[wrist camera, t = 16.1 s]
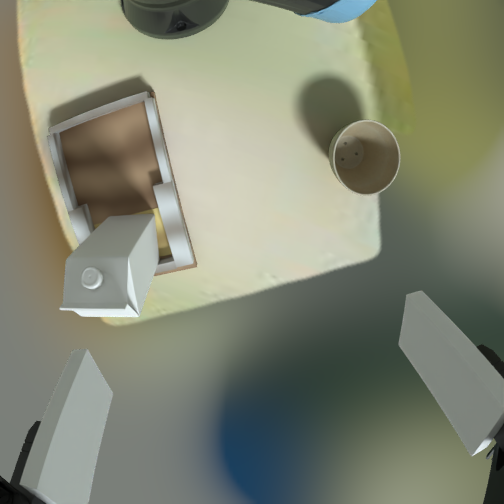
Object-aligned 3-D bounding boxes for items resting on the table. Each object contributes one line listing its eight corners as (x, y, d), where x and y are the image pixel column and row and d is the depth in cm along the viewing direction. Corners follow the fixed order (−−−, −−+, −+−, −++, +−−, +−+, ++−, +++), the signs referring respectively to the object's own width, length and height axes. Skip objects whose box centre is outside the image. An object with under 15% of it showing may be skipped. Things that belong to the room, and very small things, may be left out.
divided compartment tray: (56, 128, 37) (45, 129, 34) (154, 92, 37) (150, 90, 34) (104, 283, 47) (98, 293, 44) (197, 263, 48) (195, 273, 45)
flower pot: (303, 166, 43) (319, 174, 37) (334, 106, 40) (354, 105, 34) (358, 196, 46) (379, 208, 40) (386, 140, 43) (411, 145, 36)
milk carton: (160, 259, 45) (132, 340, 28) (115, 261, 44) (69, 338, 27) (155, 212, 42) (117, 274, 25) (108, 215, 42) (49, 276, 24)
